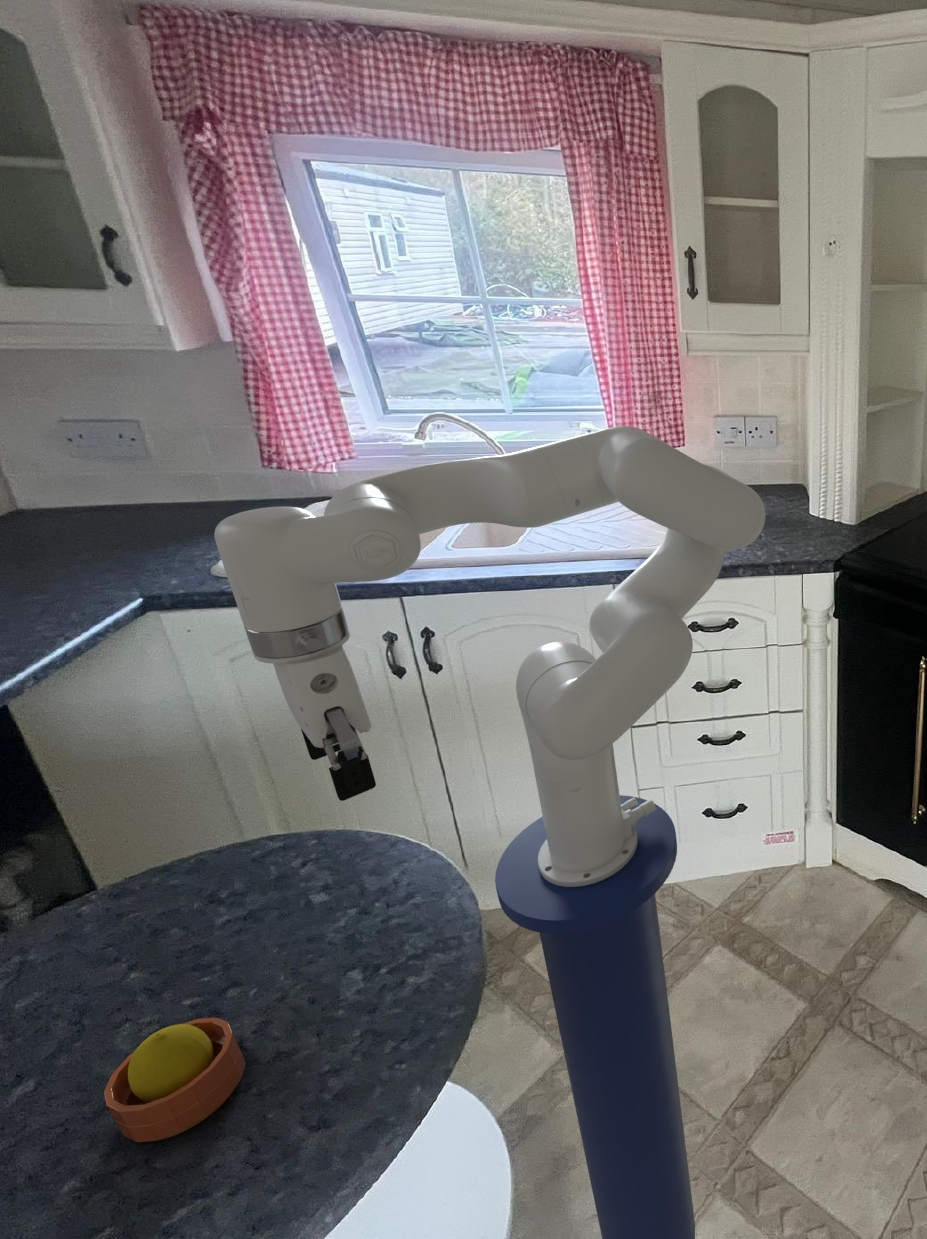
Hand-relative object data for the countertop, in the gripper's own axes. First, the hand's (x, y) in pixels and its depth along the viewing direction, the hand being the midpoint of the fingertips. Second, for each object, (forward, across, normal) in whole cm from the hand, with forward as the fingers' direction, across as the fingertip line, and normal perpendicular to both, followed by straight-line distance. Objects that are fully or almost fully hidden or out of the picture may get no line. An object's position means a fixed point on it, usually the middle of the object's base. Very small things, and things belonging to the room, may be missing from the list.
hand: (342, 772), depth 78 cm
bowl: (+24, -6, +19) cm, 31 cm away
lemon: (+24, -5, +19) cm, 31 cm away
